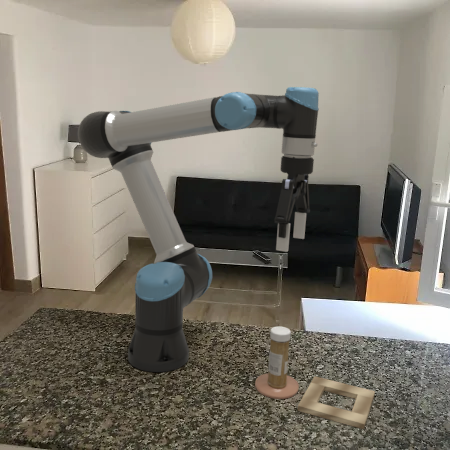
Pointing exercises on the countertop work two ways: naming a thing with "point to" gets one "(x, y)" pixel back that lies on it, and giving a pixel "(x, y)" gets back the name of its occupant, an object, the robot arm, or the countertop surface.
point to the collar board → (332, 413)
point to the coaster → (276, 393)
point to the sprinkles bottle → (278, 357)
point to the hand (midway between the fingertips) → (290, 244)
